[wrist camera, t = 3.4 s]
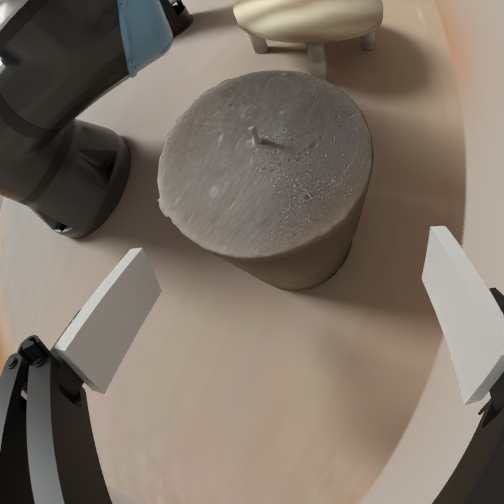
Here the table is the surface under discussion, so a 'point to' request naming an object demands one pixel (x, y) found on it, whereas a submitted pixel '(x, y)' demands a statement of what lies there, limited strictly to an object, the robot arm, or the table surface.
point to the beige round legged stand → (309, 24)
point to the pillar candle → (270, 175)
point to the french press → (176, 15)
